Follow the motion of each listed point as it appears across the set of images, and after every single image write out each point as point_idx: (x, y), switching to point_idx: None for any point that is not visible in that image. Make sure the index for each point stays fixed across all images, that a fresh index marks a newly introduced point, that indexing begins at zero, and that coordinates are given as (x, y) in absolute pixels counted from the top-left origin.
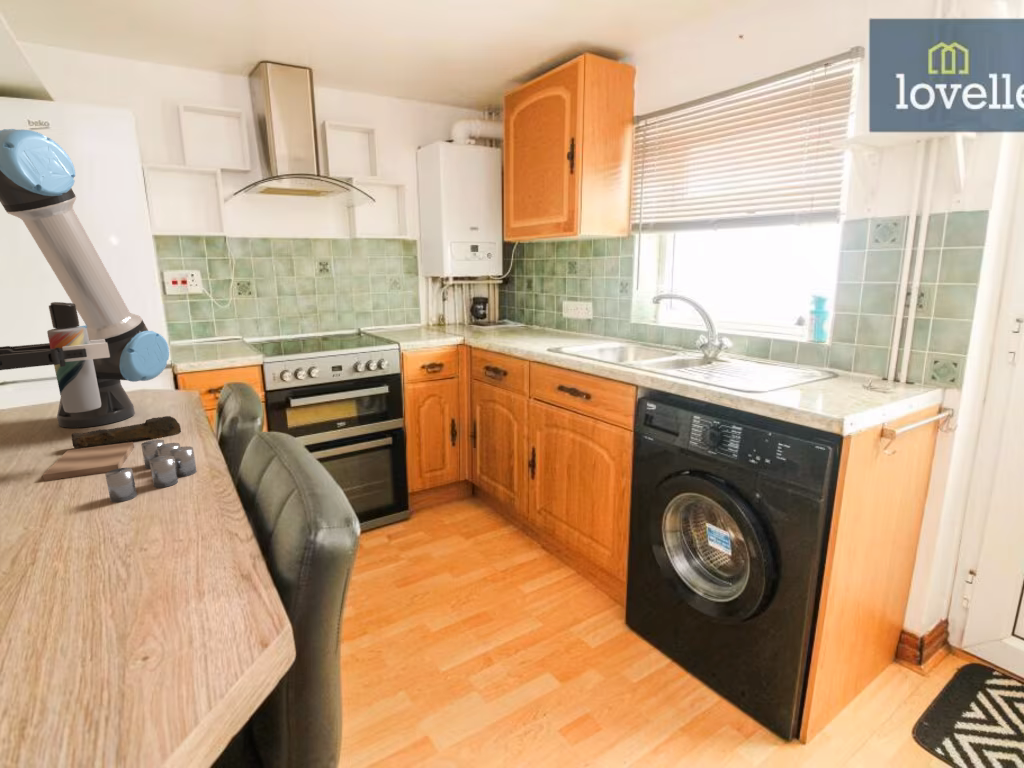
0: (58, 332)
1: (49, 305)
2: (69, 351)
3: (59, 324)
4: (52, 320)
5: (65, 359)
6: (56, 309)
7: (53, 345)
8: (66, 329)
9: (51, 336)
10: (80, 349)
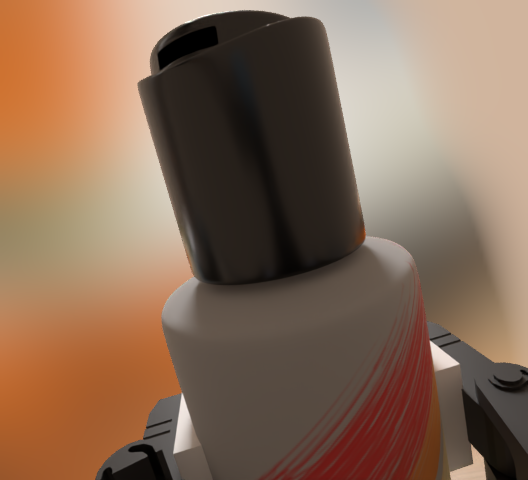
0: (413, 266)
1: (283, 20)
2: (484, 358)
3: (358, 210)
4: (318, 189)
5: (466, 447)
6: (331, 70)
7: (421, 412)
8: (369, 241)
9: (409, 332)
10: (433, 330)
